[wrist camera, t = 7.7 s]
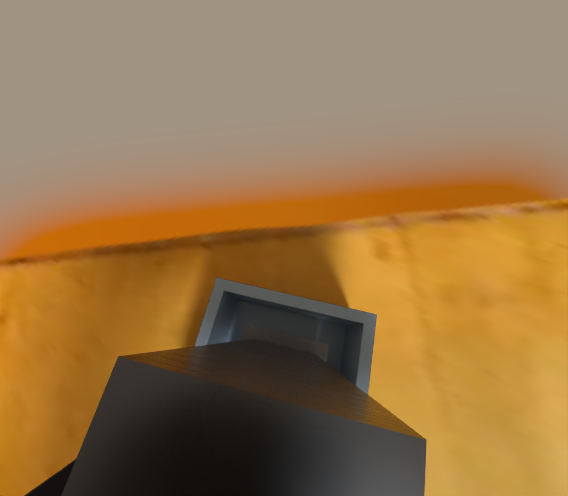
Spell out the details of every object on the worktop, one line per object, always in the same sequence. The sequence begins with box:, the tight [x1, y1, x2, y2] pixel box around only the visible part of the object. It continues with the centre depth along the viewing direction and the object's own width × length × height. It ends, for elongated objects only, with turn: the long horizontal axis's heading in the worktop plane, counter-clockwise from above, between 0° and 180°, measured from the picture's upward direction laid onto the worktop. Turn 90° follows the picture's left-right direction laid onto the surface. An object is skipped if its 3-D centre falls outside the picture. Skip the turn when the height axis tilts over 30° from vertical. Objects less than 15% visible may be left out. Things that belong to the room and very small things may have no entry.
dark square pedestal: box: [61, 324, 426, 496], centre depth 8 cm, size 5×5×13 cm
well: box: [194, 278, 377, 394], centre depth 14 cm, size 9×9×5 cm
